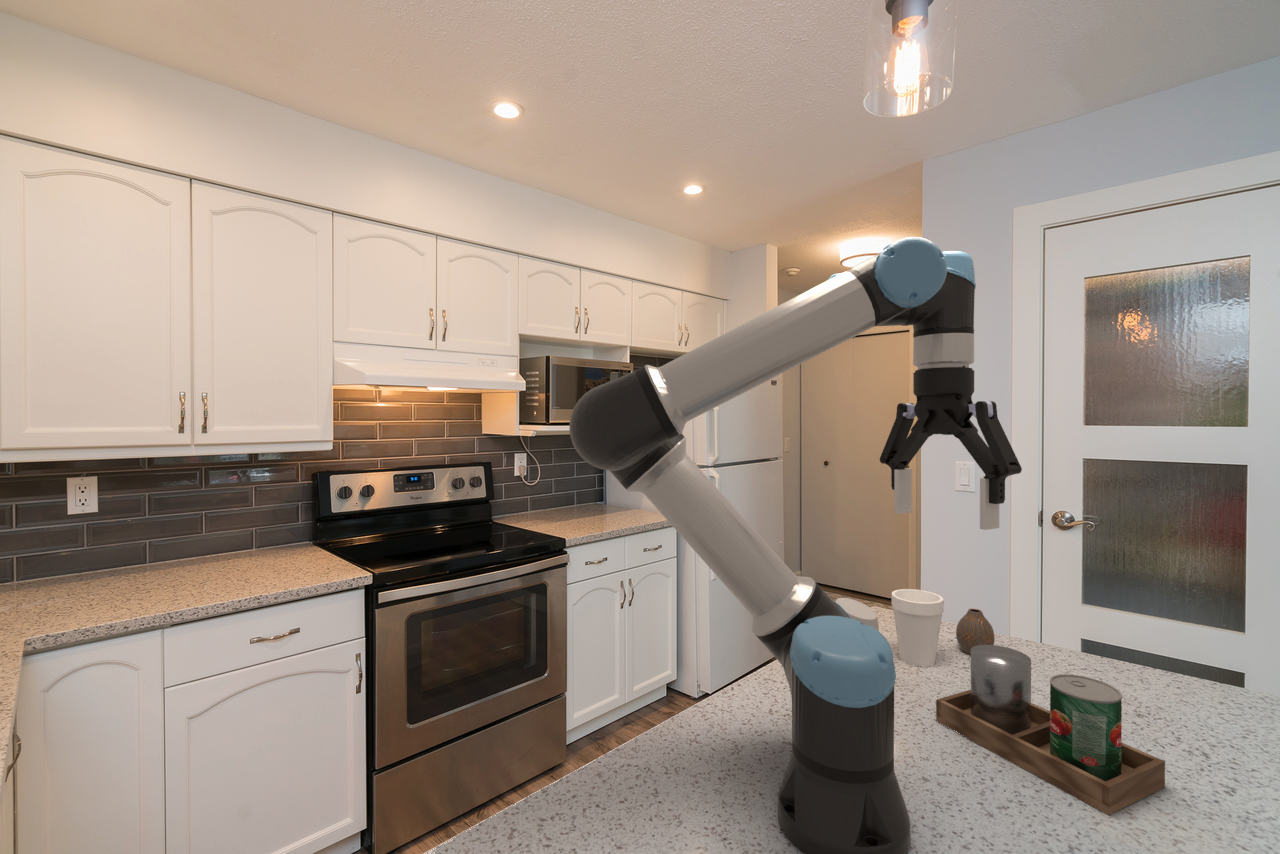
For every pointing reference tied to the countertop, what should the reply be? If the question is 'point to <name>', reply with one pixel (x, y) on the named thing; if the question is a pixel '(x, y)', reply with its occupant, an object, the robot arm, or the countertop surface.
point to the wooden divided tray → (1034, 756)
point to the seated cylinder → (1001, 687)
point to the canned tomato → (1086, 724)
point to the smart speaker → (859, 612)
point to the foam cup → (917, 625)
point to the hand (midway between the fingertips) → (943, 520)
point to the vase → (974, 630)
